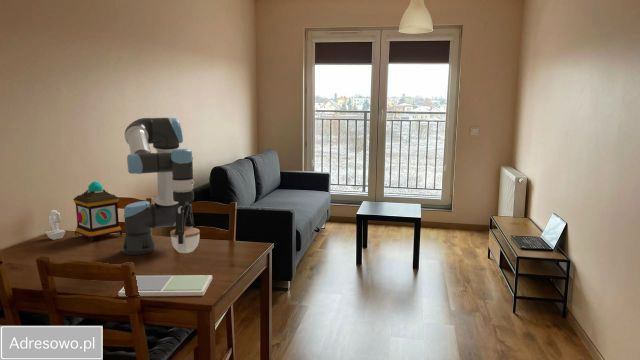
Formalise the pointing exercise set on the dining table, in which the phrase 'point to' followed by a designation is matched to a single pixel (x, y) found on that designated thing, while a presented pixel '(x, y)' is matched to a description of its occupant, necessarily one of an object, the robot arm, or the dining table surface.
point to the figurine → (55, 226)
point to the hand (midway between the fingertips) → (185, 247)
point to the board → (171, 285)
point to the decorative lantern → (96, 212)
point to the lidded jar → (187, 239)
